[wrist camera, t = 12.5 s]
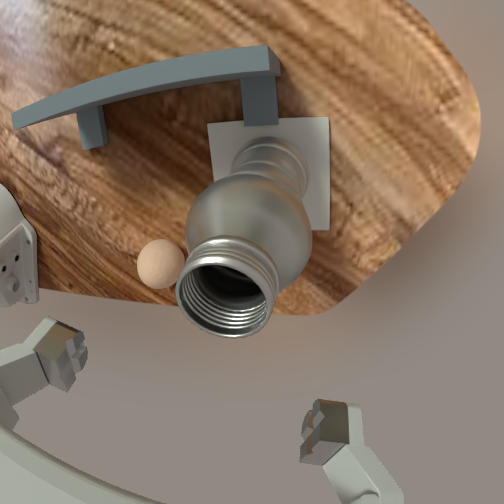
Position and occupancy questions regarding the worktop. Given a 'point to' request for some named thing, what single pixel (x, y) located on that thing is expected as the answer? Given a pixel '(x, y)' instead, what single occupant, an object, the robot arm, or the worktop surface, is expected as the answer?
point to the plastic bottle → (246, 240)
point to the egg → (160, 263)
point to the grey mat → (296, 132)
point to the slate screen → (165, 78)
